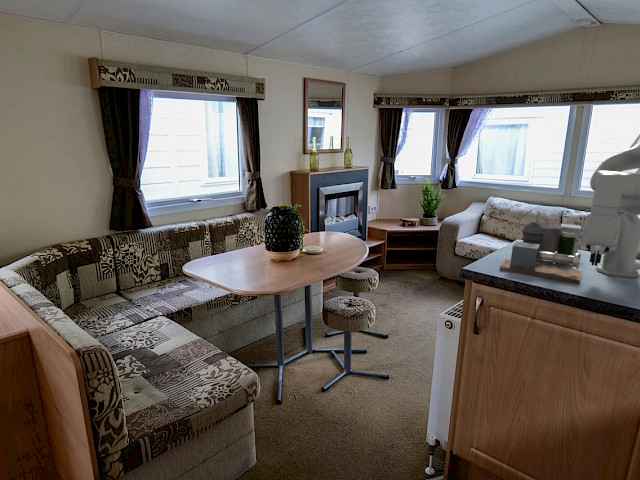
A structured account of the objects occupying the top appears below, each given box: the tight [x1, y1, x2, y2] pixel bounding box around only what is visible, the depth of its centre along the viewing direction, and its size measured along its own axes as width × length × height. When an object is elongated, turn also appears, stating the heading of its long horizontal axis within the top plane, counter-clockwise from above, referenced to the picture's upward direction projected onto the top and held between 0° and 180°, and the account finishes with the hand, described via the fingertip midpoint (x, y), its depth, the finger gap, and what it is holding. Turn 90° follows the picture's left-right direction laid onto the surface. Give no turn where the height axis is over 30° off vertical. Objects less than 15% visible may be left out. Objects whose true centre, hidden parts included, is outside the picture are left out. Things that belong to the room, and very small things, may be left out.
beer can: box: [556, 232, 576, 266], centre depth 161 cm, size 5×5×12 cm
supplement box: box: [559, 223, 583, 256], centre depth 172 cm, size 7×7×13 cm
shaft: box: [537, 251, 582, 269], centre depth 146 cm, size 18×5×5 cm, turn 57°
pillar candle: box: [537, 221, 562, 262], centre depth 166 cm, size 10×10×15 cm
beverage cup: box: [522, 211, 543, 244], centre depth 161 cm, size 7×7×20 cm
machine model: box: [499, 240, 582, 286], centre depth 148 cm, size 25×12×10 cm, turn 57°
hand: (594, 264), depth 140 cm, fingers closed
